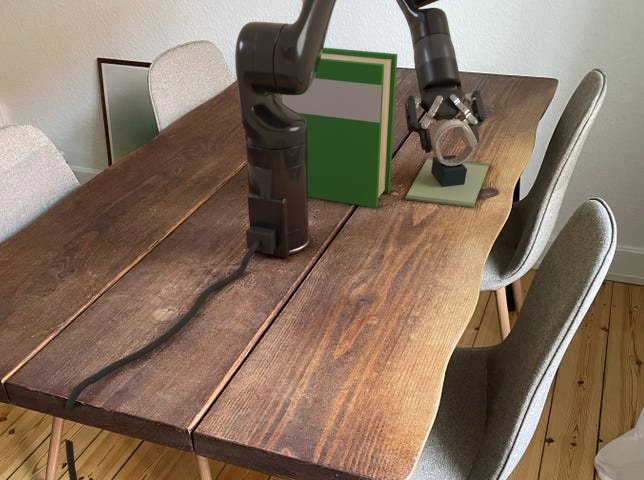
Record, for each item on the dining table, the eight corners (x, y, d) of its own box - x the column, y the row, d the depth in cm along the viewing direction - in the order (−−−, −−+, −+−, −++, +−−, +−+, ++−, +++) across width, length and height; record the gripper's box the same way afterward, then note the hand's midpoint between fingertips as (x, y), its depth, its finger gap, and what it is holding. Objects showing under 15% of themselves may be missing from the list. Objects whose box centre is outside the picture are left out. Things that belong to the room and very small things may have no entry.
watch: (474, 183, 138) (485, 126, 131) (433, 188, 137) (441, 131, 130) (461, 168, 142) (471, 112, 135) (421, 173, 141) (429, 117, 134)
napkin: (472, 207, 131) (473, 205, 131) (404, 199, 134) (405, 197, 134) (489, 165, 146) (489, 163, 146) (427, 159, 150) (427, 157, 149)
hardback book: (389, 191, 137) (397, 54, 123) (375, 207, 132) (382, 65, 118) (301, 178, 144) (299, 45, 130) (285, 192, 138) (280, 56, 124)
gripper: (404, 58, 135) (419, 143, 132) (480, 52, 136) (496, 136, 134) (394, 80, 142) (408, 161, 140) (466, 74, 144) (481, 154, 141)
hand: (451, 149), depth 137 cm, fingers open, 8 cm apart
